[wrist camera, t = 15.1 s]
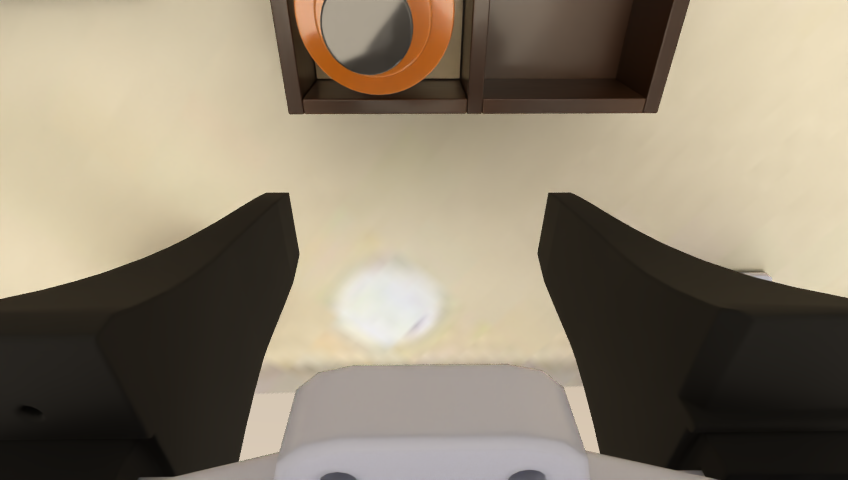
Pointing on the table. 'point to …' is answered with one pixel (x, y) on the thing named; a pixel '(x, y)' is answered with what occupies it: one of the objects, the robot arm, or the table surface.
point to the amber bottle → (376, 40)
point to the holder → (513, 61)
